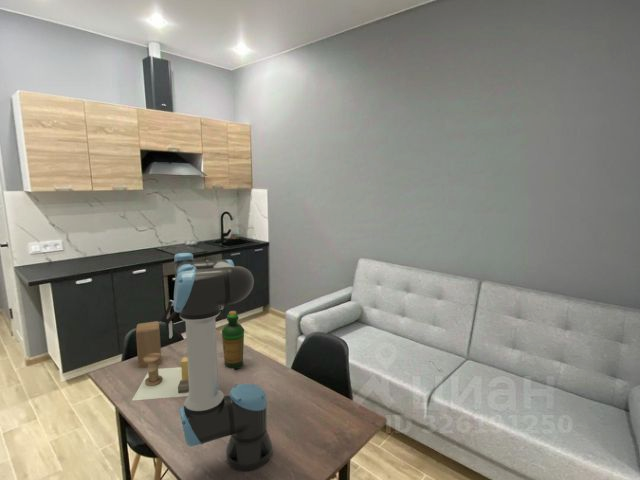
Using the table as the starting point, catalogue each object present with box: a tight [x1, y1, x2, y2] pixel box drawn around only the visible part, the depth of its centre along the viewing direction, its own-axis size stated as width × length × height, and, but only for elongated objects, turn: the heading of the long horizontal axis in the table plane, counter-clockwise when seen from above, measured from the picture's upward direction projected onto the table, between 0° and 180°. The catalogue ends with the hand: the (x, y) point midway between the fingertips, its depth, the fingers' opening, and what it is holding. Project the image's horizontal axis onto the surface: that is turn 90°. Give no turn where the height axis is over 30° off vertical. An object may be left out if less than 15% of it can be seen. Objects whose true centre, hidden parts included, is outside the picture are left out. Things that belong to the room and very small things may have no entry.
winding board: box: [132, 366, 189, 402], centre depth 156 cm, size 24×22×1 cm
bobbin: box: [144, 353, 163, 386], centre depth 155 cm, size 7×7×12 cm
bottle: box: [221, 310, 245, 370], centre depth 170 cm, size 11×11×28 cm
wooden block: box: [135, 320, 162, 369], centre depth 171 cm, size 10×10×20 cm
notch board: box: [178, 380, 189, 393], centre depth 157 cm, size 19×4×3 cm, turn 10°
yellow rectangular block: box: [180, 356, 188, 380], centre depth 157 cm, size 4×4×10 cm
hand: (187, 335), depth 152 cm, fingers open, 13 cm apart
